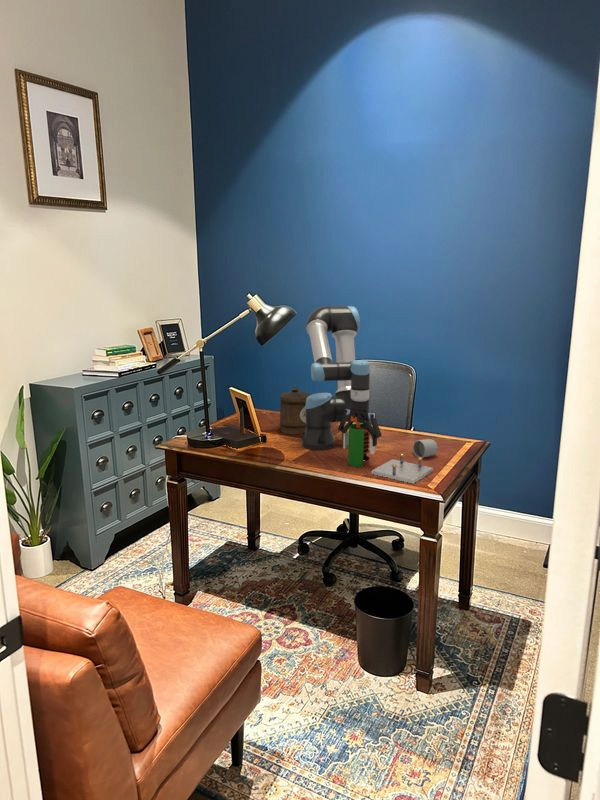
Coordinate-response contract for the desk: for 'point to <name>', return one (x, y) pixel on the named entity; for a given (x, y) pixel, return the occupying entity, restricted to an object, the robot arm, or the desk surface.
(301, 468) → the desk surface
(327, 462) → the desk surface
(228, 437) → the diary
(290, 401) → the wooden container
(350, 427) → the motor
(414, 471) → the mounting plate
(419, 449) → the ceramic mug
